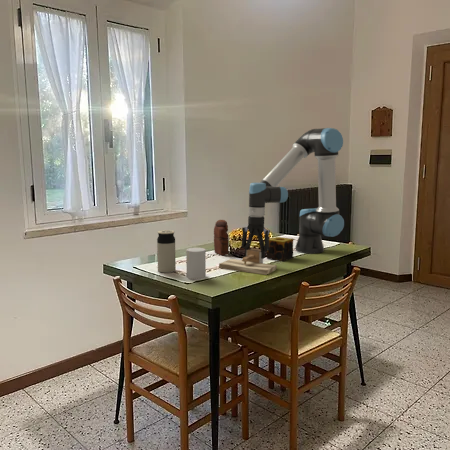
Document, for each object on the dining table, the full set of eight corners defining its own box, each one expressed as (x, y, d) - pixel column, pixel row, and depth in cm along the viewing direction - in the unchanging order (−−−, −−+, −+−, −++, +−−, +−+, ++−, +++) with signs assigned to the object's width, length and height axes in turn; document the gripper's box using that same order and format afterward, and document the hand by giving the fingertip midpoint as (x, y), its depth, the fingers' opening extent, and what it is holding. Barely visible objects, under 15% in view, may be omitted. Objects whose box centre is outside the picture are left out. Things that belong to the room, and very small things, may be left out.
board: (230, 262, 220) (230, 258, 219) (276, 269, 208) (276, 265, 208) (219, 267, 210) (219, 263, 210) (266, 274, 199) (266, 270, 198)
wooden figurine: (231, 255, 236) (232, 220, 233) (220, 256, 233) (220, 221, 231) (222, 250, 247) (222, 217, 244) (211, 251, 244) (211, 218, 241)
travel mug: (178, 269, 207) (178, 230, 204) (170, 273, 200) (170, 233, 197) (162, 267, 210) (162, 229, 207) (154, 272, 203) (153, 232, 200)
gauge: (251, 262, 220) (251, 248, 219) (262, 264, 217) (263, 250, 216) (238, 268, 208) (238, 253, 207) (249, 270, 206) (250, 255, 204)
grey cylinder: (191, 273, 200) (191, 246, 198) (208, 275, 197) (208, 248, 195) (183, 278, 193) (183, 250, 191) (200, 280, 190) (200, 252, 188)
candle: (283, 261, 222) (284, 241, 221) (265, 258, 229) (266, 239, 227) (293, 258, 231) (294, 238, 229) (276, 255, 237) (276, 236, 235)
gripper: (234, 214, 214) (233, 262, 218) (271, 218, 205) (269, 268, 208) (242, 213, 220) (240, 259, 224) (278, 217, 211) (276, 265, 215)
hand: (254, 264), depth 216 cm, fingers closed on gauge, 6 cm apart
